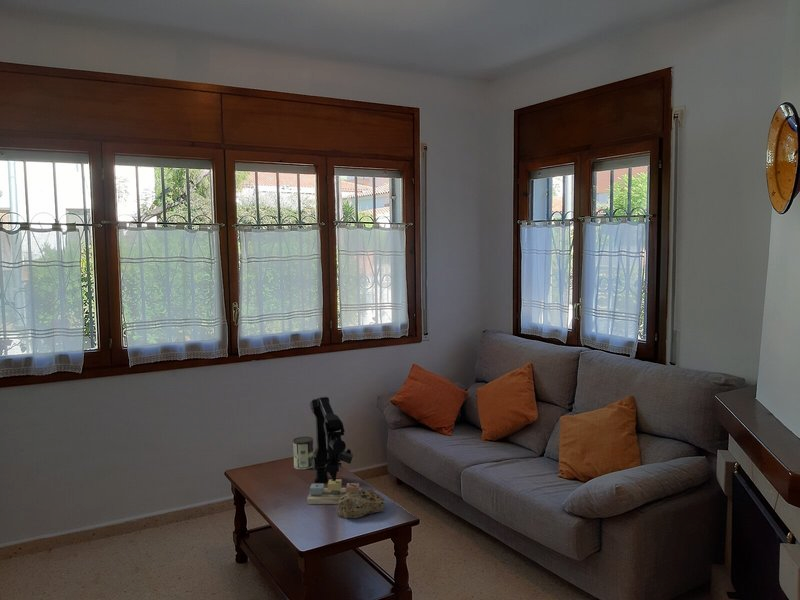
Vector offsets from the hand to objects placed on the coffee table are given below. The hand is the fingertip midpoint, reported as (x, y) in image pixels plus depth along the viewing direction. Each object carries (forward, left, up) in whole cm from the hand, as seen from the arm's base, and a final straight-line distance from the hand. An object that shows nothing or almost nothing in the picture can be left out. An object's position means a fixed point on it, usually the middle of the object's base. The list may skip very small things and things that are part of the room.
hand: (334, 480), depth 290 cm
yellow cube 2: (0, 0, -6) cm, 6 cm away
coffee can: (-43, -21, -8) cm, 48 cm away
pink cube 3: (0, +8, -8) cm, 11 cm away
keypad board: (0, 0, -8) cm, 8 cm away
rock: (+15, +13, -8) cm, 22 cm away
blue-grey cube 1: (0, -8, -8) cm, 11 cm away
